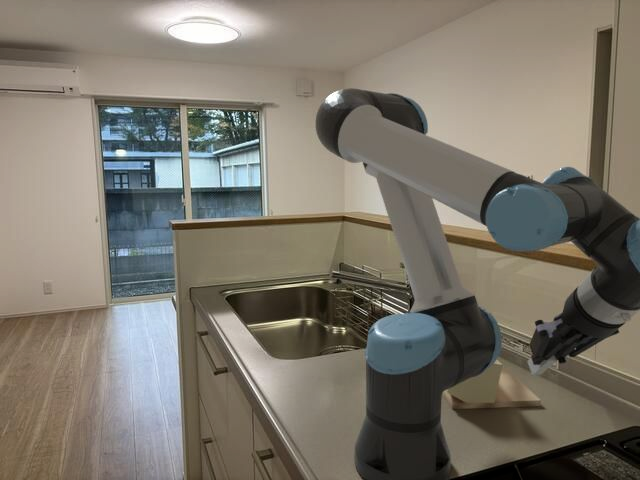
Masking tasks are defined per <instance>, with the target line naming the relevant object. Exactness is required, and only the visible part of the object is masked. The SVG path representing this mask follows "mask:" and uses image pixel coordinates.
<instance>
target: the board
mask: <svg viewBox="0 0 640 480" xmlns="http://www.w3.org/2000/svg"><path fill="white" fill-rule="evenodd" d="M442 396H443V397H442V398H444V400H445V401H446V402H447V404H448V405H449V407H450V408H451V410H461V409H465V410H466V409H490V408H491V409H493V408H496V409H497V408H520V407H521V408H522V407H541V406H542V405H541V404H542V402H541V401H542V400H541V399H540V398H539V397H538V396H537V395H536V394H535V393H534V392H532V391H531V390H530V389H529V388H528V387H527V386H526V385H525V384H523V382H522V381H520V380H519V379H518V378H517V377H516V376H515V375H514V374H513V373H512V372H510V371H509V370H508V369H507V368H506V367H505V366H502V370H501V375H500V379H499V384H498V389H497V393H496V398H495V402H494V403H466V402H464V401H462V400H460V399H458V398H456V397H455V396H453V395H451V394H449V393H447V390H445V391H443V393H442Z"/></svg>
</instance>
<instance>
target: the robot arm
mask: <svg viewBox="0 0 640 480" xmlns="http://www.w3.org/2000/svg"><path fill="white" fill-rule="evenodd" d="M428 129H429V125H428V119H427V117H426V114H425V111H424V110H423V108H422V107H421V105H420V104H419V103H418V102H416V101H415V100H413V99H412V98H410V97H407V96H404V95H402V94H398V93H394V92H391V93H389V92H388V93H383V92H378V91H372V90H366V89H362V88H361V89H359V88H354V87H353V88H352V87H351V88H342V89H339V90H337V91H334V92H333V93H331V94H330V95H328V96H327V97H325V99H324V100H323V101H322V102H321V104H320V105H319V107H318V110H317V112H316V116H315V132H316V135H317V138H318V140H319V141H320V143H321V145H322V146H323V147H324V148H325V149H326V150H327V151H328V152H330V153H332V154H334V155H335V156H336V157H339V158H341V159H342V160H344V161H347V162H349V163H350V164H358V163H359V164H360V163H362V165H363V168H364V171H365V173H366V174H367V175H369V176H370V177H371V176H372V177H373V178H375V180H376V183H377V185H378V189H379V191H380V194H381V197H382V201H383V205H384V208H385V210H386V214H387V217H388V219H389V223H390V226H391V229H392V232H393V236H394V238H395V242H396V245H397V248H398V250H399V251H398V252H399V254H400V257H401V260H402V263H403V266H404V269H405V273H406V276H407V279H408V282H409V284H410V288H411V291H412V295H413V297H414V302H413V304H412V307H411V309H410V310H409V312H405V313H404V314H403V313H402V314H400V313H395V314H391V315H387V316H385V317H382V318H380V319H379V320H377V321H376V322H374V323H373V325H371V327H370V328H369V330H368V333H367V341H366V342H367V343H366V344H367V345H366V348H365V358H366V359H365V360H366V361H365V362H366V363H365V364H366V365H365V369H366V370H365V372H366V373H365V381H366V382H365V384H366V385H365V388H366V389H365V395H366V396H365V398H366V399H365V401H366V402H365V404H366V405H365V417H364V419H363V421H362V425H361V428H360V430H359V432H358V433H359V434H358V436H357V439H356V442H355V444H354V454H353V455H354V460H353V461H354V466H355V469H356V471H357V472H358V474H359V475H360V476H361V477H362V478H363V479H365V480H448V479H449V477H450V475H451V461H452V459H451V453H450V448H449V445H448V442H447V438H446V436H445V433H444V429H443V426H442V419H441V418H442V417H441V416H442V398H443V397H442V396H443V395H442V393H443V391H445V390H447V389H449V388H451V387H453V386H455V385H457V384H459V383H461V382H463V381H465V380H467V379H469V378H471V377H476V376H478V375H480V374H481V373H483V372H484V371H485V370H486V369H487V368H489V367H490V366H491V365H493V364H494V362H495V361H496V360H498V358H499V355H500V353H501V350H502V343H503V341H502V338H503V337H502V331H501V328H500V326H499V324H498V321H497V320H496V318H495V317H494V315H492V313H490V312H488V311H487V310H486V309H485V308H484V307H482V306H479V303H478V301H477V297H476V295H475V293H474V292H472V291H470V290H468V289H467V288H465V287H464V286H463V285H462V282H461V279H460V275H459V272H458V270H457V267H456V264H455V261H454V259H453V255H452V253H451V250H450V247H449V244H448V240H447V237H446V235H445V232H444V228H443V227H442V226H443V225H442V222H441V219H440V217H439V214H438V210H437V208H436V204H435V202H434V200H435V201H437V202H438V203H441V204H443V205H445V206H447V207H449V208H450V209H453V210H454V211H456V212H458V213H460V214H462V215H464V216H466V217H467V218H470V219H471V220H473V221H476V222H477V223H480V224H482V225H483V226H485V227H486V229H487V231H488V233H489V234H490V236H491V237H492V239H493V240H494V242H495V243H497V244H498V245H499V246H501V247H502V248H504V249H506V250H509V251H512V252H537V251H541V250H545V249H548V248H550V247H554V246H557V245H561V244H565V243H569V242H571V243H572V244H573V245H574V246H575V247H576V248H578V249H579V250H580V251H581V252H582V253H583V254H585V256H586V257H588V258H589V259H591V260H592V261H593V262H594V263H595V264H596V266H595V267H594V268H593V269H592V270H591V271H590V272H589V273H588V275H586V276H585V278H583V280H582V281H581V282H580V283H579V285H578V286H577V287H576V288H575V289H574V290H572V292H571V293H570V294H569V296H568V297H566V299H565V301H564V304H563V305H564V306H563V309H562V312H561V313H559V314H557V315H555V316H554V317H553V320H552V321H549V322H548V321H544V320H542V319H537V320H535V321H534V324H535V327H536V328H535V329H534V332H533V333H532V337H531V339H530V341H529V345H528V346H529V348H530V351H531V354H532V355H531V356H530V358H529V359H528V360H527V364H528V368H529V370H530V372H531V375H532V376H533V377H535V376H541V375H543V374H544V372H546V371H547V370H548V369H549V368H550V367H552V365H553V364H555V363H556V362H557V361H558V364H561V365H562V364H565V363H567V360H566V357H569V358H576V357H577V356H579V355H580V354H582V353H584V352H585V351H587V350H589V349H591V348H593V346H595V345H597V344H599V343H600V342H602V341H604V340H605V339H607V338H610V337H613V336H615V335H617V334H619V333H620V330H619V329H620V328H621V327H622V326H624V325H625V324H626V323H627V322H630V321H631V320H632V318H633V317H634V316H635V315H636V314H637V313H639V312H640V217H639V216H636V215H635V214H634V213H632V211H630V210H628V209H627V208H626V207H625V206H624V205H622V204H621V203H620V202H618V200H616V199H615V198H614V197H613V196H611V195H610V194H609V193H608V192H606V191H605V190H604V189H602V188H601V186H599V185H598V184H597V183H596V182H595V181H594V180H593V178H591V177H589V176H586V175H585V174H583V173H582V172H581V171H579V170H577V169H576V168H575V167H572V166H564V167H560V168H559V169H558V170H554V171H553V172H551V173H550V174H549V175H547V177H546V178H544V179H543V180H542V181H541V182H540V181H538V180H535V179H533V178H530V177H527V176H525V175H523V174H520V173H517V172H515V171H513V170H511V169H508V168H507V167H504V166H501V165H500V164H497V163H494V162H491V161H490V160H487V159H485V158H482V157H479V156H478V155H475V154H472V153H470V152H468V151H465V150H463V149H460V148H458V147H455V146H453V145H451V144H448V143H446V142H444V141H441V140H439V139H437V138H434V137H432V136H429V135H427V134H428V131H429V130H428Z"/></svg>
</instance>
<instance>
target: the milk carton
mask: <svg viewBox="0 0 640 480" xmlns="http://www.w3.org/2000/svg"><path fill="white" fill-rule="evenodd" d="M502 367H503V363H501V361H499V359H497V360H496V361H495V362H494V364H493V365H491V366H490V367H489V368H487V369H486V370H485V371H484V372H483V373H481V374H480V375H478V376H476V377H471V378H469V379H467V380H465V381H463V382H461V383H459V384H457V385H455V386H453V387H451V388H449V389H447V393H449V394H451V395H453V396H455V397H456V398H458V399H460V400H462V401H464V402H466V403H494V402H495V398H496V393H497V389H498V384H499V379H500V375H501V370H502Z"/></svg>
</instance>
